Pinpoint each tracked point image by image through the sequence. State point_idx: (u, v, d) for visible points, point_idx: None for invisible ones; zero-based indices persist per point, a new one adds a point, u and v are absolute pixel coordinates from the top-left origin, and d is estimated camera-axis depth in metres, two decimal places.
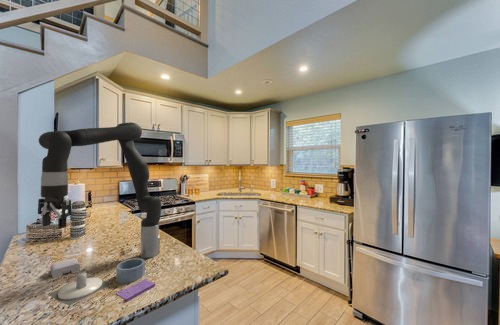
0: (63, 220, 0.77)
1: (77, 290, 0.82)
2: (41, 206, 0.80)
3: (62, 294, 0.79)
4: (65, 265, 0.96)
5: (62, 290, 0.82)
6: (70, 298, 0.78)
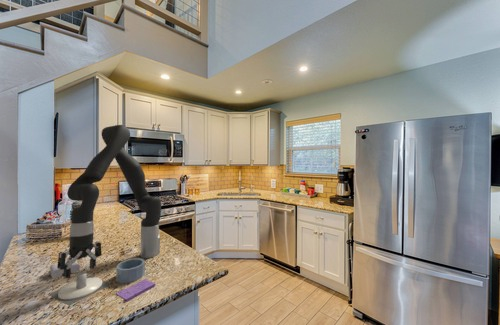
0: None
1: (77, 290, 0.82)
2: None
3: (62, 294, 0.79)
4: None
5: (62, 290, 0.82)
6: (70, 298, 0.78)
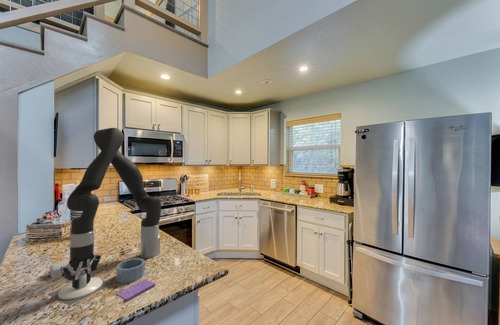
0: None
1: (77, 290, 0.82)
2: None
3: (62, 294, 0.80)
4: (64, 266, 0.96)
5: (62, 290, 0.82)
6: (70, 298, 0.78)
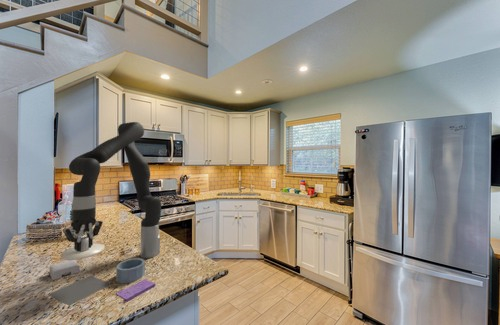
0: None
1: (79, 252, 0.83)
2: None
3: (65, 255, 0.80)
4: (64, 266, 0.95)
5: (64, 252, 0.82)
6: (73, 258, 0.78)
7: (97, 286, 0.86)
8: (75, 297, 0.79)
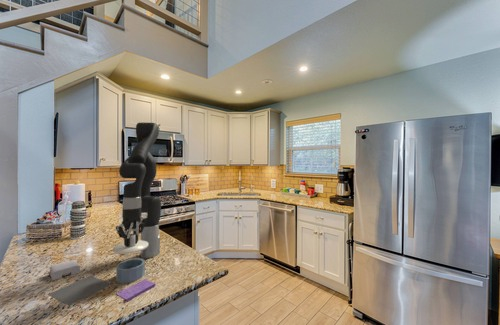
0: None
1: (129, 247, 0.92)
2: None
3: (117, 250, 0.90)
4: (65, 267, 0.95)
5: (115, 247, 0.92)
6: (125, 252, 0.88)
7: (97, 286, 0.86)
8: (75, 297, 0.79)
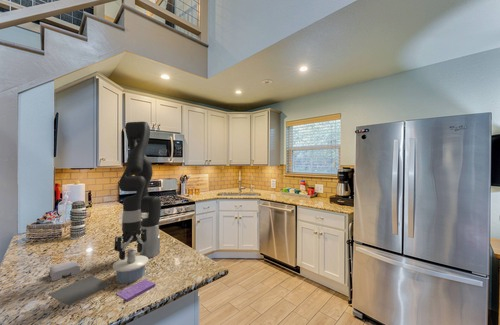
0: None
1: (129, 264, 0.92)
2: None
3: (117, 267, 0.90)
4: (65, 267, 0.94)
5: (115, 264, 0.92)
6: (125, 270, 0.88)
7: (97, 286, 0.86)
8: (75, 297, 0.79)
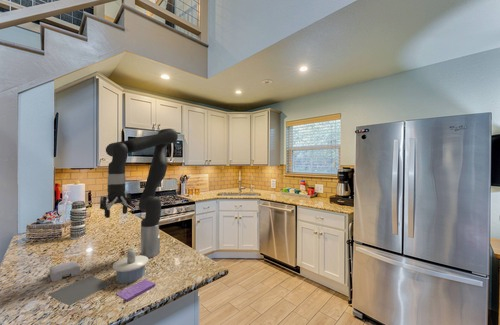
0: None
1: (129, 264, 0.92)
2: None
3: (117, 267, 0.90)
4: (65, 268, 0.94)
5: (115, 264, 0.92)
6: (125, 270, 0.88)
7: (97, 286, 0.86)
8: (75, 297, 0.79)
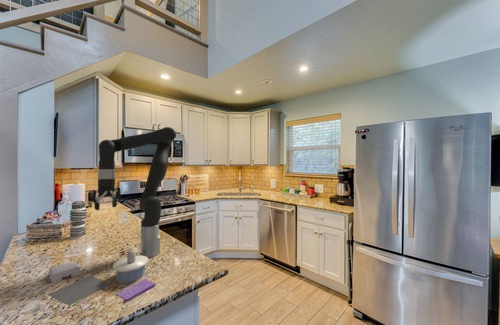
0: None
1: (129, 264, 0.92)
2: None
3: (117, 267, 0.90)
4: (64, 269, 0.93)
5: (115, 264, 0.92)
6: (125, 270, 0.88)
7: (97, 286, 0.86)
8: (75, 297, 0.79)
